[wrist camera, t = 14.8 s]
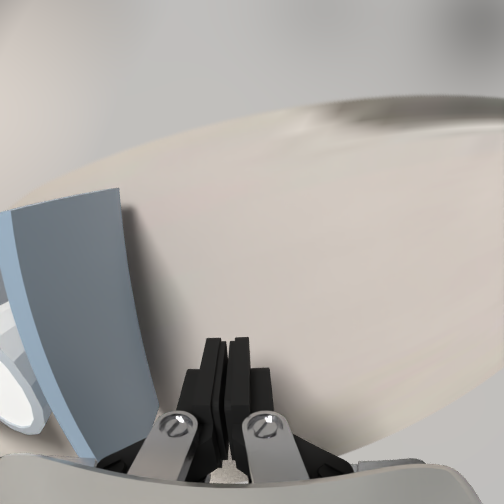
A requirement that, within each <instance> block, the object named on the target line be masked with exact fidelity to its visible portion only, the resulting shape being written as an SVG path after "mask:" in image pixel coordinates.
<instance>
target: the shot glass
mask: <svg viewBox="0 0 504 504" xmlns="http://www.w3.org/2000/svg"><path fill="white" fill-rule="evenodd" d="M51 412H52V410H51V408H50V406H49V404H48V402H47V400H46V398H45V396H44V394H43V391H42V389H41V387H40V385H39V383H38V381H37V378H36V376H35V374H34V371H33V369H32V367H31V364H30V362H29V359H28V357H27V354H26V352H25V349H24V346H23V344H22V341H21V338H20V335H19V333H18V330H17V327H16V324H15V320H14V317H13V314H12V311H11V307H10V304H9V301H8V302H6V303H4V304H2V305H0V421H1V422H3V423H4V424H5V425H7V426H8V427H10V428H11V429H13V430H16V431H19V432H21V433H24V434H27V435H32V434H40V432H41V431H42V429H43V427H44V426H45V424H46V422H47V420H48V418H49V416H50V414H51Z"/></svg>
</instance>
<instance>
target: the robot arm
mask: <svg viewBox="0 0 504 504" xmlns="http://www.w3.org/2000/svg"><path fill="white" fill-rule="evenodd" d="M229 444H230V450H231V457H232V460H235V461H236V467H237V469H239V470H240V471H242V472H243V473H244V474H246V475H247V479H248V484H217V483H209V482H210V478H211V474H210V473H211V472H213V471H214V470H216V469H217V468H222V460H228V449H229ZM0 504H482V502H481V500H480V499H479V497H478V495H477V494H476V492H475V491H474V489H473V488H472V487H471V485H470V484H469V483H468V482H467V480H466V479H465V478H464V477H463V476H462V475H461V474H460V473H459V472H458V471H456V470H455V469H453V468H450V467H448V466H444V465H436V464H426V463H425V462H423V461H422V460H419V459H413V458H409V459H399V460H383V461H359V462H358V464H349V463H348V462H347V461H345V460H343V459H341V458H339V457H337V456H335V455H333V454H331V453H329V452H327V451H325V450H323V449H321V448H319V447H317V446H315V445H313V444H311V443H309V442H307V441H305V440H303V439H301V438H300V437H298V436H296V435H294V434H292V432H291V429H290V427H289V424H288V422H287V420H286V418H285V417H284V416H282V415H281V414H279V413H277V412H274V407H273V398H272V388H271V378H270V369H269V368H251V367H250V349H249V337H236V338H235V341H230V346H229V356H228V355H227V345H226V341H221V338H207V339H206V343H205V348H204V352H203V357H202V361H201V366H200V369H188V370H187V372H186V376H185V380H184V383H183V387H182V391H181V394H180V398H179V402H178V405H177V409H176V411H170V412H167V413H165V414H163V415H161V416H160V417H159V418H158V419H157V420H156V421H155V423H154V425H153V427H152V429H151V431H150V432H149V434H148V436H147V437H146V438H144V439H142V440H140V441H138V442H136V443H134V444H132V445H130V446H128V447H126V448H123V449H121V450H119V451H117V452H115V453H113V454H110V455H108V456H106V457H104V458H103V459H101V460H100V461H97V460H96V459H95V458H80V457H65V456H53V455H51V456H44V455H39V454H30V453H14V454H8V455H4V456H2V457H0Z"/></svg>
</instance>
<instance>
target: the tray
mask: <svg viewBox="0 0 504 504" xmlns="http://www.w3.org/2000/svg"><path fill="white" fill-rule="evenodd" d="M8 301H9V304H10V307H11V311H12V314H13V317H14V320H15V324H16V327H17V330H18V333H19V335H20V338H21V341H22V344H23V346H24V349H25V352H26V354H27V357H28V359H29V362H30V364H31V367H32V369H33V371H34V374H35V376H36V378H37V381H38V383H39V385H40V387H41V389H42V391H43V394H44V396H45V398H46V400H47V402H48V404H49V406H50V408H51V410H52V412H53V414H54V415H55V417H56V419H57V421H58V423H59V425H60V426H61V428H62V430H63V432H64V433H65V435H66V437H67V439H68V440H69V442H70V444H71V445H72V447H73V448H74V450H75V452H76V453H77V455H78V456H79V457H80V458H95V459H96V460H97V461H100V460H101V459H103V458H104V457H106V456H108V455H110V454H113V453H115V452H117V451H119V450H121V449H123V448H126V447H128V446H130V445H132V444H134V443H136V442H138V441H140V440H142V439H144V438H146V437H147V436H148V434H149V432H150V431H151V429H152V427H153V424H154V420H155V417H156V414H157V411H158V408H159V402H158V399H157V396H156V392H155V389H154V385H153V381H152V378H151V374H150V370H149V366H148V362H147V358H146V354H145V350H144V346H143V341H142V337H141V332H140V328H139V323H138V318H137V313H136V308H135V303H134V298H133V292H132V286H131V281H130V274H129V268H128V262H127V255H126V247H125V240H124V232H123V223H122V214H121V203H120V192H119V188H113V189H106V190H99V191H94V192H88V193H83V194H78V195H73V196H68V197H63V198H58V199H53V200H49V201H44V202H40V203H35V204H31V205H27V206H23V207H19V208H15V209H11V210H7V211H3V212H0V305H2V304H4V303H6V302H8Z"/></svg>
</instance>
